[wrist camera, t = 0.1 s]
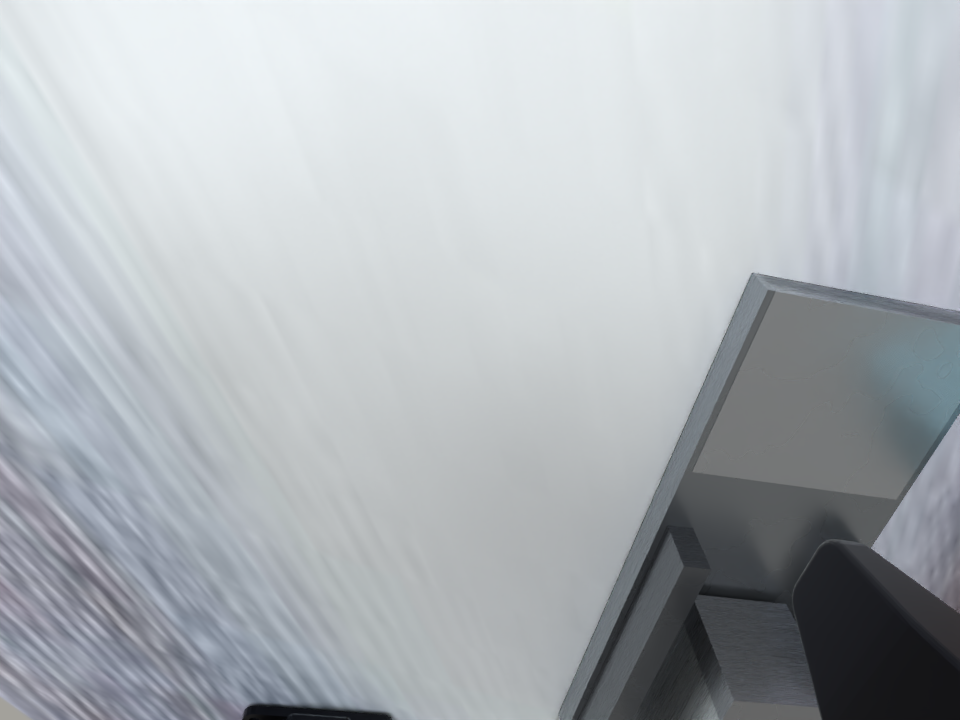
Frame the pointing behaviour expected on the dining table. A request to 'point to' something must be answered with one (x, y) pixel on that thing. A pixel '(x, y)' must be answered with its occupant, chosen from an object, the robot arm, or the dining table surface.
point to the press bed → (776, 466)
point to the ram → (733, 666)
